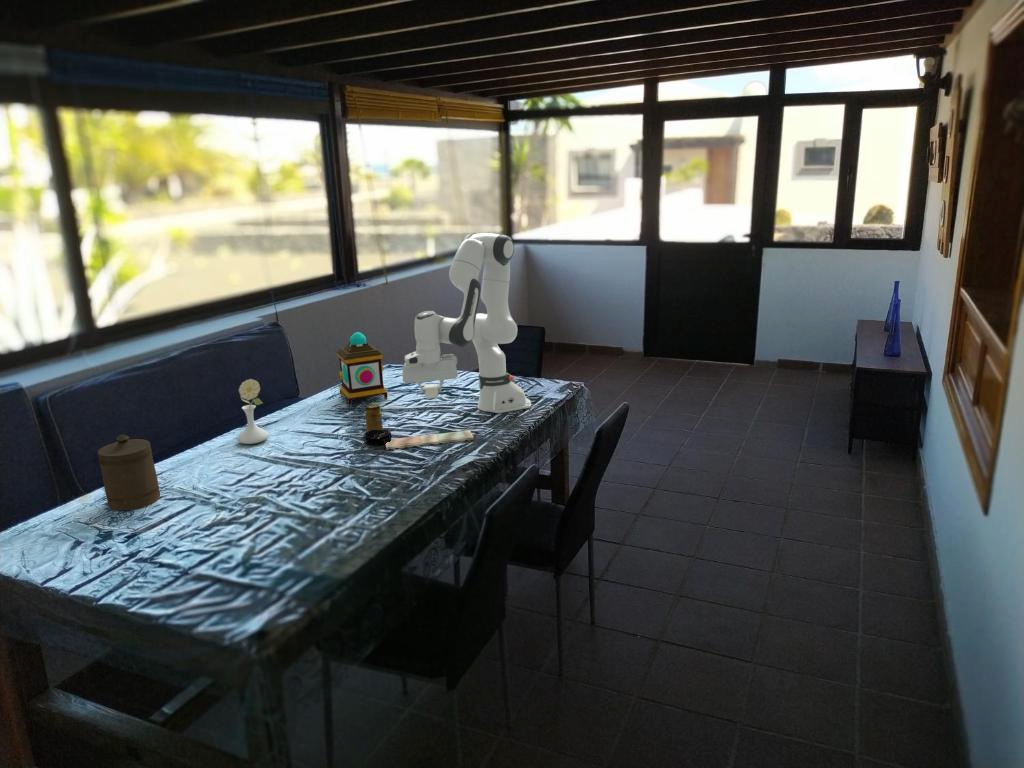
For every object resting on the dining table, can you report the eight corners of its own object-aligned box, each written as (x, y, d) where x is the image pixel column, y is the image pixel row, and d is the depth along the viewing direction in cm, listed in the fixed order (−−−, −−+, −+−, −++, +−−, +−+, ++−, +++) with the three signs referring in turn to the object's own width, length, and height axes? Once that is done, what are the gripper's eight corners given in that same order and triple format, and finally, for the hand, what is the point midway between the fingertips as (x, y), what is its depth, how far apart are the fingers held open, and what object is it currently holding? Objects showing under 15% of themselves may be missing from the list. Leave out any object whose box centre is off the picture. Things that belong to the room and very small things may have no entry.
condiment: (378, 431, 288) (376, 401, 285) (390, 436, 282) (387, 406, 278) (362, 435, 284) (359, 406, 280) (373, 441, 277) (370, 411, 274)
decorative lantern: (336, 395, 336) (329, 330, 327) (379, 388, 344) (373, 325, 335) (346, 407, 318) (339, 339, 310) (391, 400, 326) (385, 333, 318)
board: (470, 432, 282) (470, 429, 282) (473, 439, 275) (473, 436, 274) (385, 442, 276) (384, 439, 276) (386, 449, 268) (386, 446, 268)
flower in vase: (231, 444, 280) (221, 380, 273) (254, 434, 290) (245, 372, 283) (256, 449, 274) (246, 384, 267) (278, 438, 284) (270, 376, 277)
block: (436, 394, 280) (436, 383, 279) (438, 397, 275) (437, 387, 274) (424, 395, 279) (424, 385, 278) (426, 398, 275) (425, 388, 273)
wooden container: (147, 487, 245) (134, 424, 238) (169, 498, 236) (156, 433, 229) (100, 503, 234) (86, 438, 228) (121, 515, 225) (107, 447, 218)
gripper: (455, 351, 278) (457, 386, 281) (400, 356, 274) (403, 392, 278) (457, 355, 272) (460, 391, 276) (401, 360, 268) (404, 397, 272)
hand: (431, 391), depth 277 cm, fingers closed on block, 4 cm apart
